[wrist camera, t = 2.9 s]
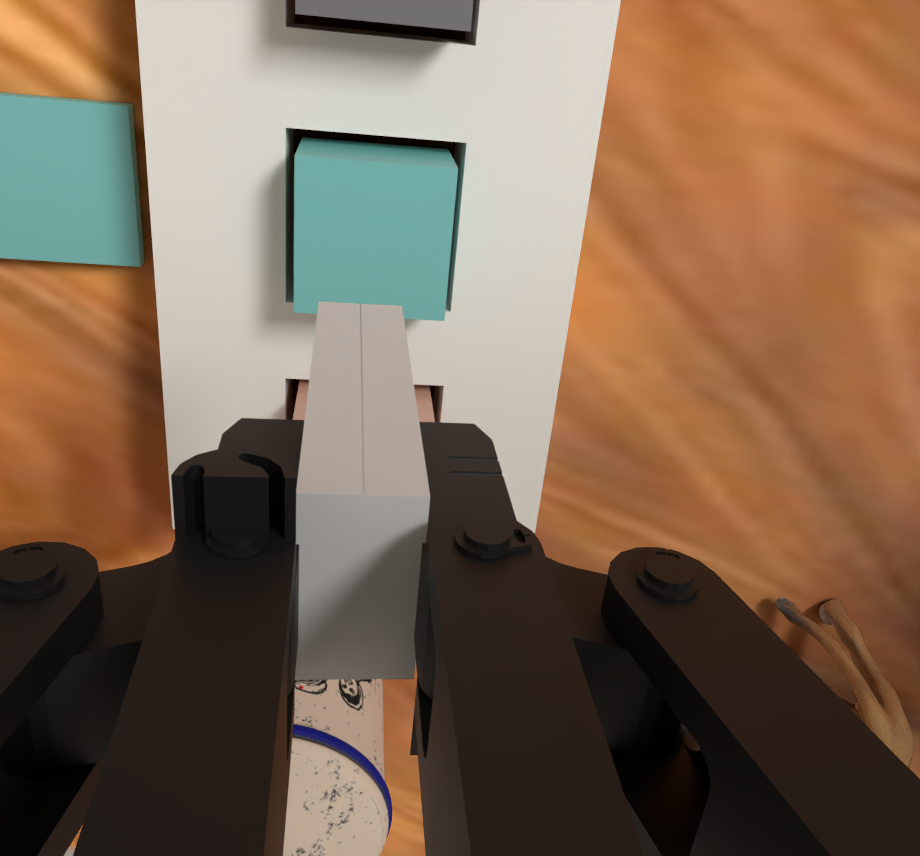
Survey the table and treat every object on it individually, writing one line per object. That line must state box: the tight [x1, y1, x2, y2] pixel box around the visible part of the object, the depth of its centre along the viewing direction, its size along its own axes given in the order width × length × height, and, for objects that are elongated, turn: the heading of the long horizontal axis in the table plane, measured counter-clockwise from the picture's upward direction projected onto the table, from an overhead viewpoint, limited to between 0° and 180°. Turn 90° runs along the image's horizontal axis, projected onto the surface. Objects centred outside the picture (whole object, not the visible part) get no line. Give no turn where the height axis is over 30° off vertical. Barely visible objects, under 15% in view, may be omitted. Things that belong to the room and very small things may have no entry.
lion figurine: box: [775, 598, 914, 769], centre depth 37 cm, size 15×5×9 cm, turn 33°
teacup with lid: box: [283, 679, 392, 856], centre depth 31 cm, size 12×9×12 cm
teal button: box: [294, 137, 458, 321], centre depth 25 cm, size 4×4×3 cm
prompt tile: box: [0, 92, 145, 267], centre depth 27 cm, size 5×5×1 cm
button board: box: [135, 0, 621, 534], centre depth 27 cm, size 13×22×3 cm, turn 174°
